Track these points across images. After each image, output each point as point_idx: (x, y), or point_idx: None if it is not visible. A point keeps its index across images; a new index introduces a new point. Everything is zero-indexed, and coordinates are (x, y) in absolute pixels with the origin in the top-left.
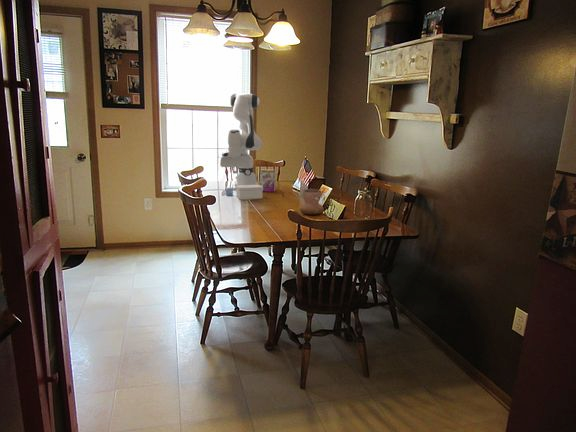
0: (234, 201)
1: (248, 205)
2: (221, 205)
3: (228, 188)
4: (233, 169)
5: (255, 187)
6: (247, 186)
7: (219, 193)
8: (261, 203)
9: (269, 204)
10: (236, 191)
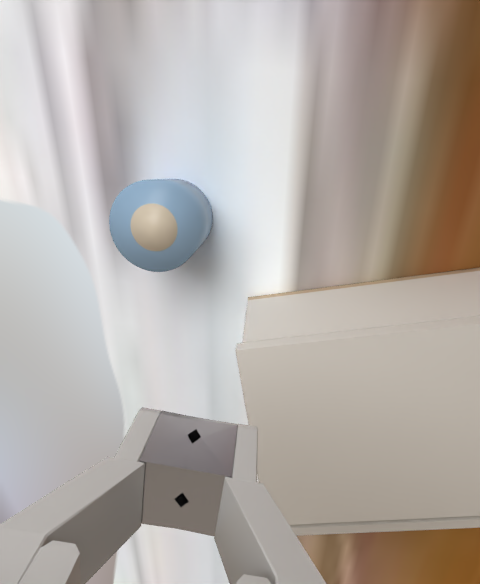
0: None
1: (316, 562)
2: (145, 540)
3: (146, 251)
4: (105, 502)
5: (459, 525)
6: (379, 444)
7: (62, 119)
8: (415, 532)
9: (463, 560)
10: (246, 320)
